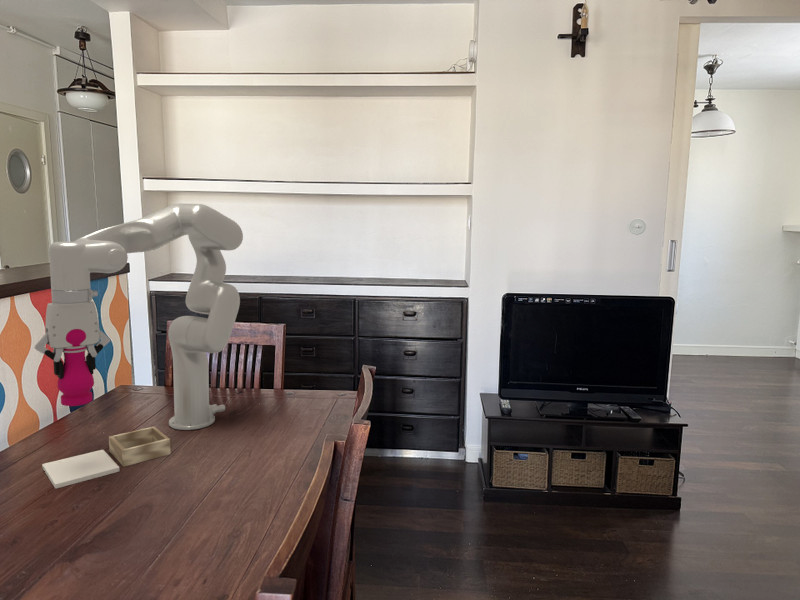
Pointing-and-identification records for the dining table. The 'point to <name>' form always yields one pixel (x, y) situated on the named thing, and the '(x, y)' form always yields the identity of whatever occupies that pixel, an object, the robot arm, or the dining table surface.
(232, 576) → the dining table surface
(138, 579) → the dining table surface
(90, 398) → the pepper mill
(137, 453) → the holder
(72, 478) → the tile
